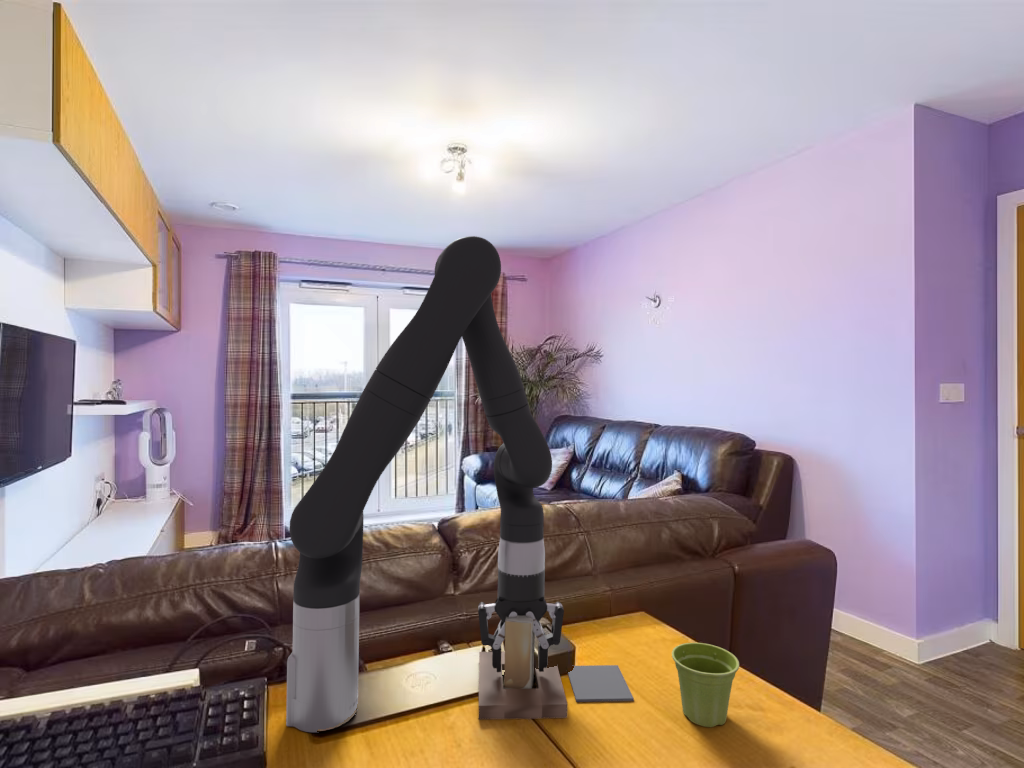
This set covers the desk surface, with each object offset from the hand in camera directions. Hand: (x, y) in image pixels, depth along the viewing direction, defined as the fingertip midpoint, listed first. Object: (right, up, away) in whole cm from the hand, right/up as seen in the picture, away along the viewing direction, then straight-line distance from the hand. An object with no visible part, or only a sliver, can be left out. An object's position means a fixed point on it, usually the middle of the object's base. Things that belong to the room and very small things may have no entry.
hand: (519, 669), depth 87 cm
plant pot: (+27, -4, -7) cm, 28 cm away
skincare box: (0, -3, 0) cm, 3 cm away
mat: (+13, -3, +2) cm, 13 cm away
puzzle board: (0, -3, 0) cm, 3 cm away
